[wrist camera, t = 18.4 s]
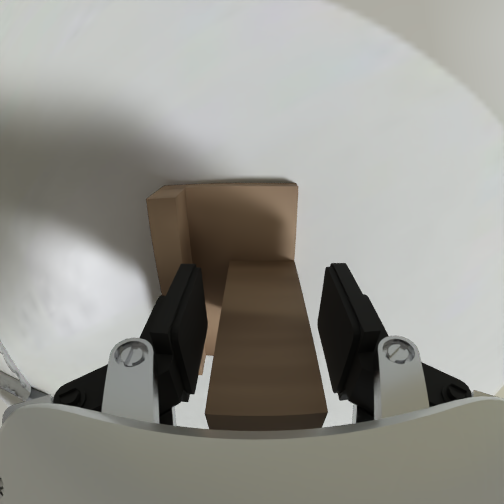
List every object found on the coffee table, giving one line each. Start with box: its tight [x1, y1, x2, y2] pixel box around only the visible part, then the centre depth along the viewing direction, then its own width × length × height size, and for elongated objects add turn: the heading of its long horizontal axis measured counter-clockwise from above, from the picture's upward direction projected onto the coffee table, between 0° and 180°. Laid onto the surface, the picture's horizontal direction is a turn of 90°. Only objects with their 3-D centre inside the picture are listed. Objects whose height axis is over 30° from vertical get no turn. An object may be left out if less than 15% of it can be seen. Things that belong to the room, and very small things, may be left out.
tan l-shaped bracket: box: [146, 183, 328, 431], centre depth 10 cm, size 10×6×9 cm, turn 0°
